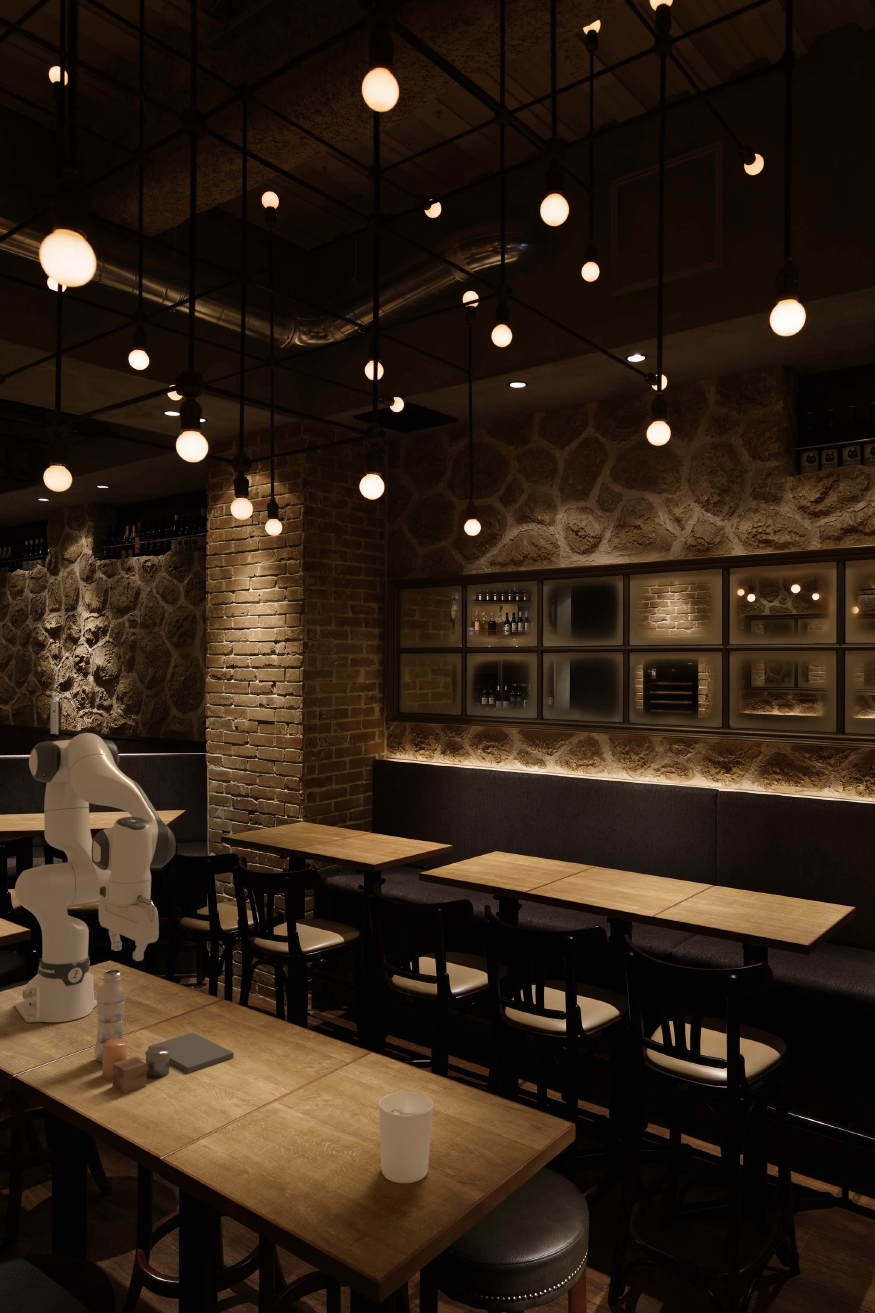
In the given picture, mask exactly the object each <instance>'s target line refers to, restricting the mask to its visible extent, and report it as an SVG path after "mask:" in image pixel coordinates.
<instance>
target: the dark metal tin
mask: <svg viewBox="0 0 875 1313" xmlns="http://www.w3.org/2000/svg"><path fill="white" fill-rule="evenodd" d="M169 1053H170V1050H169V1048H167V1047H154V1048H151V1049H147V1050H146V1051H145V1063H147V1070H146V1079H150V1080H157V1079H163V1078H165V1077H167V1076H169V1074H170V1063H169Z"/></svg>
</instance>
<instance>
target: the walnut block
mask: <svg viewBox="0 0 875 1313" xmlns="http://www.w3.org/2000/svg"><path fill="white" fill-rule="evenodd" d="M146 1070H147V1063H146V1061H143V1060H141V1059H140V1058H138V1057H136V1056H133V1057H129V1058H127V1059H126V1060H123V1061H120V1062H116V1063H113V1080H112V1088H114V1089H115V1090H117V1091H119V1092H120V1093H122V1094H123V1095H126V1094H129V1093H131V1092H134V1091H138V1090H141V1089H143V1088H147V1077H146Z"/></svg>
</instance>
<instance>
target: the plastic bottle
mask: <svg viewBox="0 0 875 1313" xmlns="http://www.w3.org/2000/svg"><path fill="white" fill-rule="evenodd" d="M121 972H122V971H121V970H120V969H109V970H105V971H104V973H103V980H102V981H103V982H104V983H103V985H102V986H101V987H100V989H99V990H98V992H97V995H96V1000H97V1006H96V1007H97V1021H98V1022H97V1024H98V1026H97V1035H96V1041H95V1044H94V1051H93V1052H94V1058H95V1059H96V1060H97V1061H98V1062H99V1063H103V1043H104V1042H106V1041H108V1040H111V1039H124V1032H123V1031H124V1029H123V1028H124V1027H123V1022H124V1021H123V1018H124V1009H125V1004H126V998H127V992H126V990H125V987H124V985H122V983H121V982H120V981H121V980H122V979H121V978H122V977H121Z"/></svg>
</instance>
